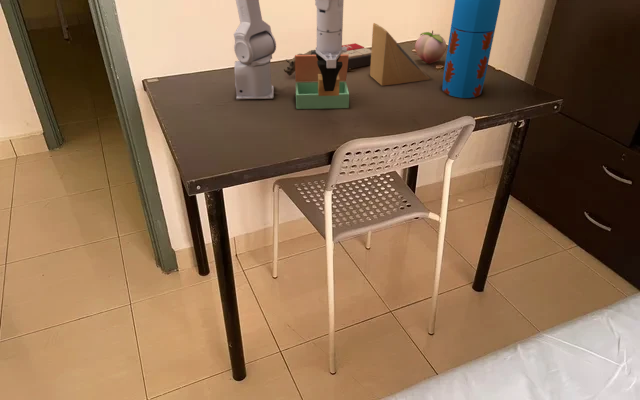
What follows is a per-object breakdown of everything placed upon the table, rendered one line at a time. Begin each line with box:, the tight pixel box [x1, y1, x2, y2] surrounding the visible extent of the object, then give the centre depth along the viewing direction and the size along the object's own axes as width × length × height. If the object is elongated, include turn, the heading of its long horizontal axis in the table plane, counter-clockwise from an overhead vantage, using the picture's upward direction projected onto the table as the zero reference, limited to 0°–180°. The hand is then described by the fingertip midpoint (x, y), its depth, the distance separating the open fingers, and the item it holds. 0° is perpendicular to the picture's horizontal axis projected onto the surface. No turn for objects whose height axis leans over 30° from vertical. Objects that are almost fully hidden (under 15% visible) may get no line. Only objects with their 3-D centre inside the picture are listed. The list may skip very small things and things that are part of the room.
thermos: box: [441, 0, 502, 99], centre depth 130 cm, size 11×11×25 cm
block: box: [317, 74, 341, 96], centre depth 119 cm, size 5×4×4 cm
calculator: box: [342, 43, 372, 72], centre depth 153 cm, size 11×4×15 cm
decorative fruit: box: [414, 30, 447, 65], centre depth 152 cm, size 9×8×10 cm
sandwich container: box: [369, 22, 431, 87], centre depth 141 cm, size 9×15×15 cm, turn 109°
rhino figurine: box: [283, 50, 311, 77], centre depth 145 cm, size 4×14×6 cm, turn 133°
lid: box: [294, 49, 349, 83], centre depth 129 cm, size 9×13×4 cm
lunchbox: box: [295, 81, 350, 110], centre depth 130 cm, size 8×13×4 cm, turn 93°
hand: (328, 87), depth 119 cm, fingers closed on block, 3 cm apart
